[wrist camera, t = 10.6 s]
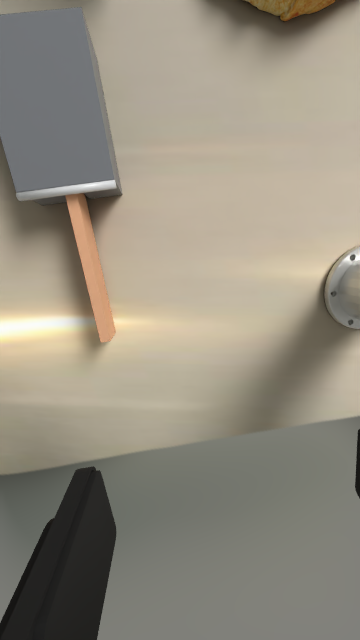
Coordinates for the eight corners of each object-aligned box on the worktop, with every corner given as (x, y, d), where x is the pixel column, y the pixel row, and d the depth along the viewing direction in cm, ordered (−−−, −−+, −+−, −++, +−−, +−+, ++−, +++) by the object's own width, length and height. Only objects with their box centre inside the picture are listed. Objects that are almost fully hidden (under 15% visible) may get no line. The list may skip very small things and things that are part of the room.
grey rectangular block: (97, 59, 27) (80, 4, 21) (123, 201, 30) (115, 187, 25) (6, 69, 26) (-36, 15, 20) (44, 212, 30) (17, 200, 24)
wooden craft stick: (82, 183, 29) (71, 172, 25) (115, 332, 33) (110, 341, 30) (72, 185, 29) (59, 173, 25) (107, 333, 33) (100, 342, 29)
